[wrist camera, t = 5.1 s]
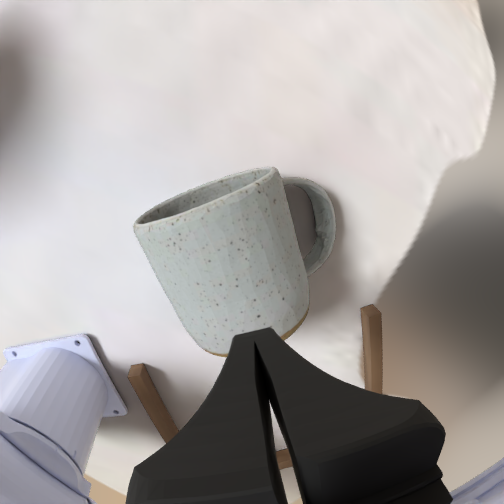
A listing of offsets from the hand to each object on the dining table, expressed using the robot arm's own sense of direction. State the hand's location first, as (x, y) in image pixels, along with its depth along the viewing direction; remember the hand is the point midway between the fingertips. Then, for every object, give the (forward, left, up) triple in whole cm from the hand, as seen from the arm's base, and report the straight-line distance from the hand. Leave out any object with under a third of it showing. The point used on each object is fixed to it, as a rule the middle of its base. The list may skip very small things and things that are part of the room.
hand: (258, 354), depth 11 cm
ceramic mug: (+1, +2, -11) cm, 11 cm away
